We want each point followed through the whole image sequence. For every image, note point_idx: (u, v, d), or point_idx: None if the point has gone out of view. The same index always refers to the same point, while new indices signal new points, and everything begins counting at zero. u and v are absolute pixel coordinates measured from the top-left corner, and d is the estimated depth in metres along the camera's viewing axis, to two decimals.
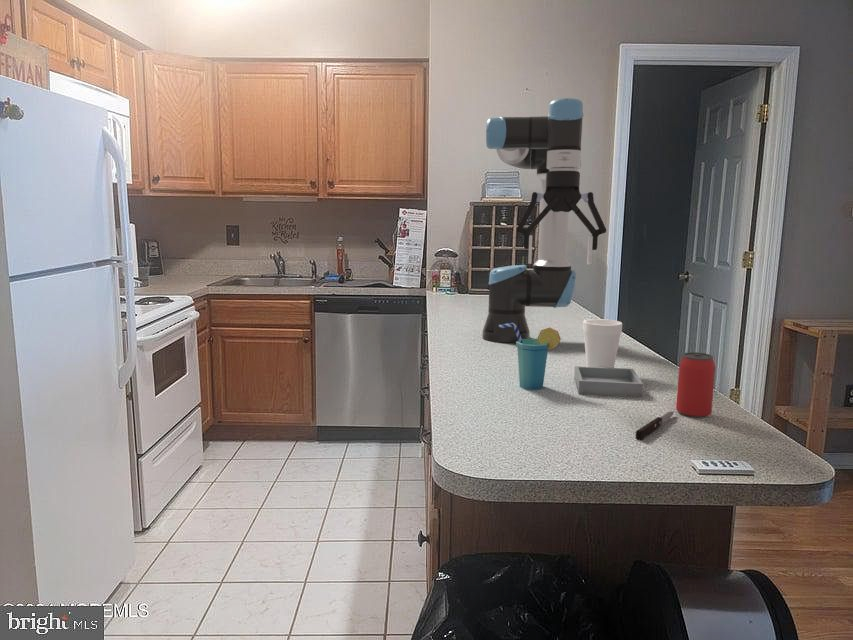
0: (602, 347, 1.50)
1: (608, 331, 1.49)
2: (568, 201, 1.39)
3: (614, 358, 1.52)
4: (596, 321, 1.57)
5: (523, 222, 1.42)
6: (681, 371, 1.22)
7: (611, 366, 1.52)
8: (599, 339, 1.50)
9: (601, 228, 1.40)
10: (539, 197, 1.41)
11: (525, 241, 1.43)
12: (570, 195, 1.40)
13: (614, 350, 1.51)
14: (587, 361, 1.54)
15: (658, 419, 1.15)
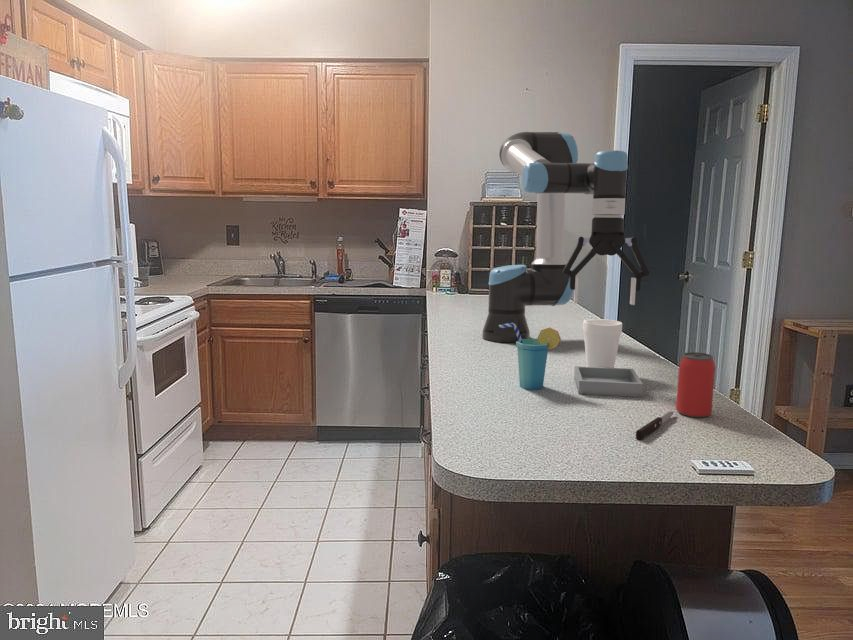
0: (602, 347, 1.50)
1: (608, 331, 1.49)
2: (613, 246, 1.48)
3: (614, 358, 1.52)
4: (596, 321, 1.57)
5: (570, 264, 1.51)
6: (681, 371, 1.22)
7: (611, 366, 1.52)
8: (599, 339, 1.50)
9: (644, 271, 1.48)
10: (585, 241, 1.50)
11: (571, 282, 1.52)
12: (615, 240, 1.48)
13: (614, 350, 1.51)
14: (587, 361, 1.54)
15: (658, 419, 1.15)
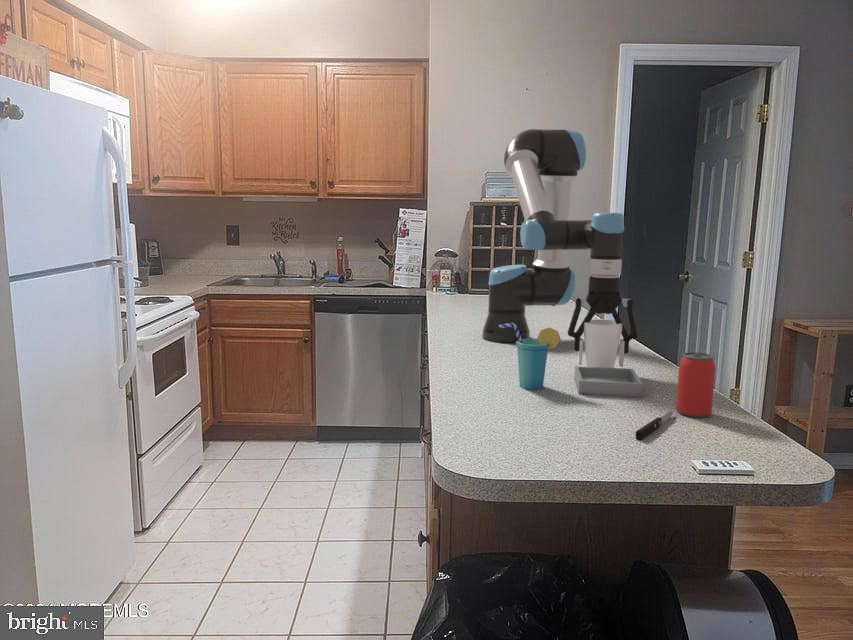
0: (602, 347, 1.50)
1: (608, 331, 1.49)
2: (609, 305, 1.50)
3: (614, 358, 1.52)
4: (596, 321, 1.57)
5: (573, 326, 1.53)
6: (681, 371, 1.22)
7: (611, 366, 1.52)
8: (599, 339, 1.50)
9: (633, 334, 1.51)
10: (583, 301, 1.53)
11: (576, 344, 1.54)
12: (611, 299, 1.51)
13: (614, 350, 1.51)
14: (587, 361, 1.54)
15: (658, 419, 1.15)
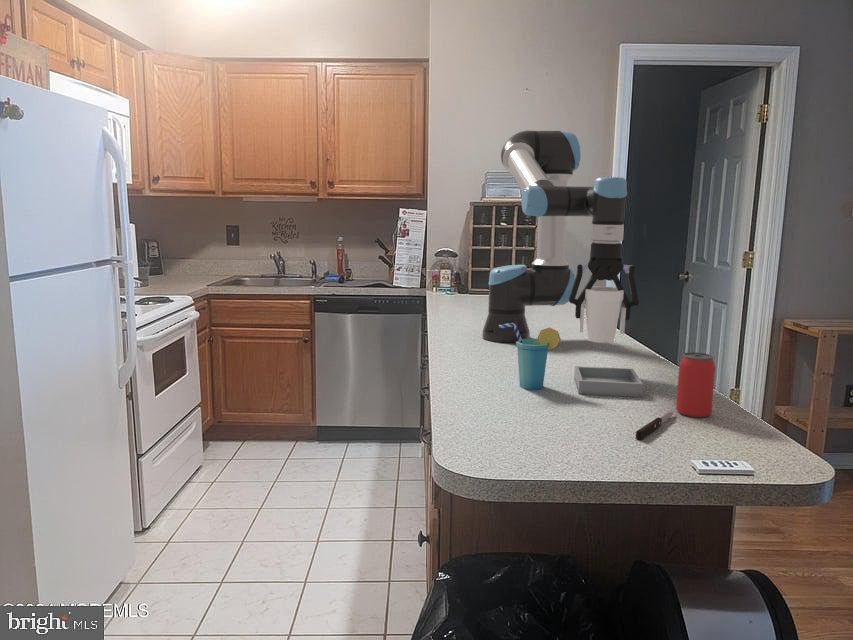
0: (603, 314, 1.49)
1: (609, 297, 1.48)
2: (611, 271, 1.49)
3: (615, 325, 1.51)
4: (597, 288, 1.56)
5: (574, 293, 1.52)
6: (681, 371, 1.22)
7: (612, 333, 1.51)
8: (600, 305, 1.49)
9: (634, 300, 1.50)
10: (584, 268, 1.51)
11: (577, 311, 1.53)
12: (613, 265, 1.50)
13: (615, 317, 1.50)
14: (588, 328, 1.53)
15: (658, 419, 1.15)
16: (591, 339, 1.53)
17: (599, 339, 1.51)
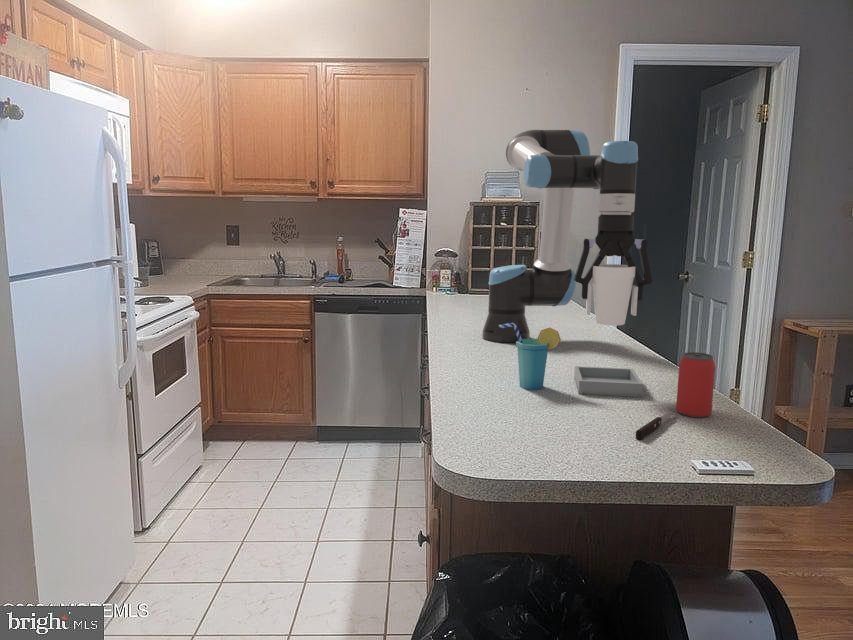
0: (613, 292, 1.35)
1: (620, 274, 1.33)
2: (621, 246, 1.35)
3: (626, 306, 1.37)
4: (606, 266, 1.42)
5: (580, 271, 1.38)
6: (681, 371, 1.22)
7: (623, 314, 1.37)
8: (610, 283, 1.34)
9: (647, 278, 1.36)
10: (591, 243, 1.37)
11: (584, 291, 1.39)
12: (624, 239, 1.35)
13: (626, 296, 1.36)
14: (596, 310, 1.39)
15: (658, 419, 1.15)
16: (599, 321, 1.38)
17: (608, 321, 1.37)
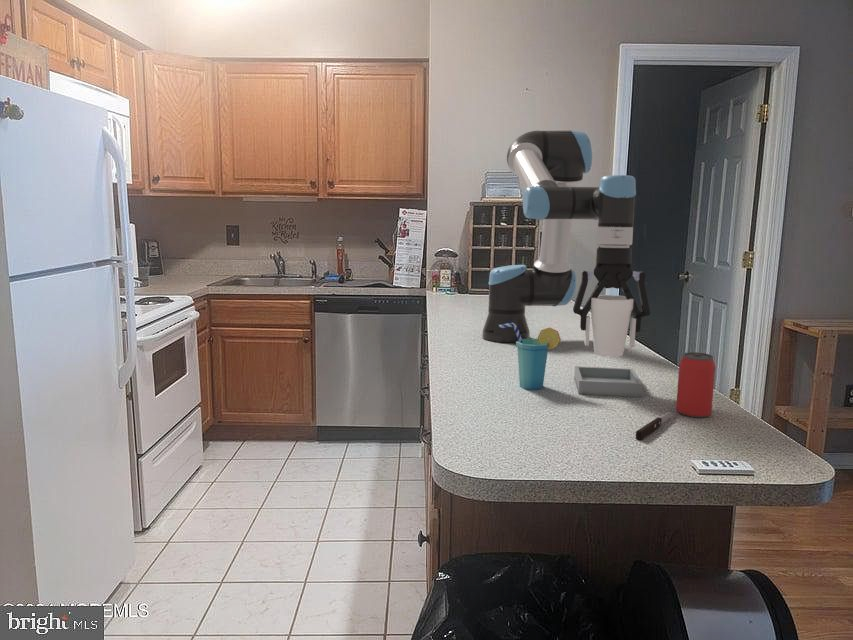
0: (611, 325, 1.36)
1: (618, 307, 1.34)
2: (619, 278, 1.36)
3: (624, 337, 1.38)
4: (604, 297, 1.43)
5: (579, 303, 1.39)
6: (681, 371, 1.22)
7: (621, 346, 1.38)
8: (608, 316, 1.35)
9: (645, 310, 1.37)
10: (590, 275, 1.38)
11: (582, 322, 1.40)
12: (622, 272, 1.36)
13: (625, 328, 1.37)
14: (595, 341, 1.40)
15: (658, 419, 1.15)
16: (598, 353, 1.39)
17: (607, 353, 1.38)
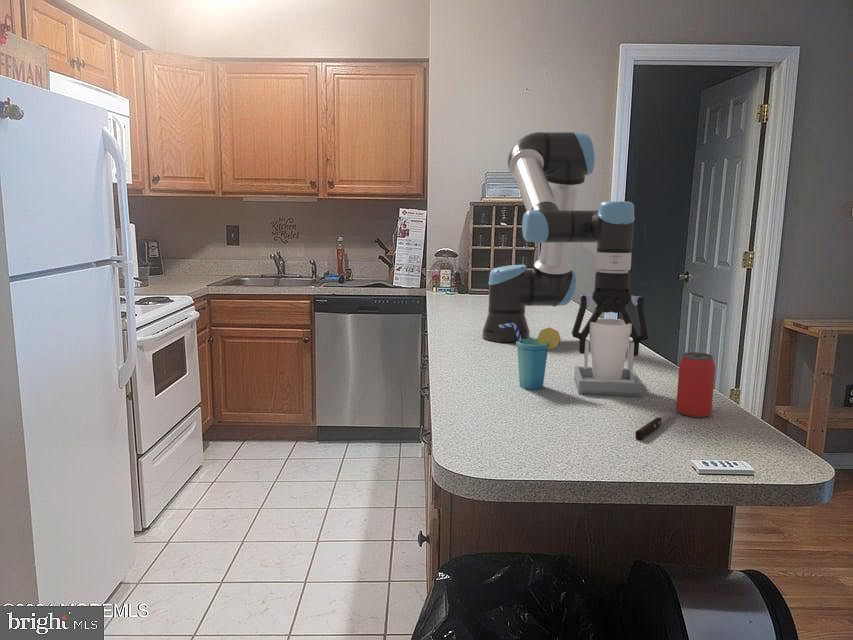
0: (610, 349, 1.37)
1: (616, 332, 1.35)
2: (618, 303, 1.37)
3: (623, 361, 1.39)
4: (603, 321, 1.44)
5: (578, 327, 1.40)
6: (681, 371, 1.22)
7: (619, 370, 1.39)
8: (606, 340, 1.36)
9: (643, 334, 1.38)
10: (588, 299, 1.39)
11: (581, 346, 1.41)
12: (620, 296, 1.37)
13: (623, 352, 1.38)
14: (593, 364, 1.41)
15: (657, 419, 1.15)
16: (596, 376, 1.40)
17: (605, 376, 1.39)
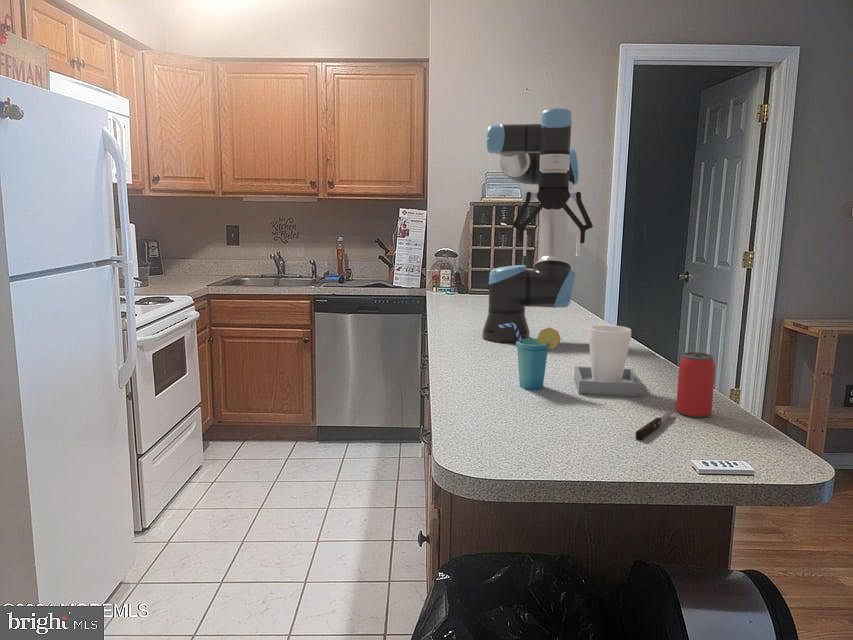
0: (609, 356, 1.37)
1: (616, 339, 1.36)
2: (558, 200, 1.56)
3: (622, 368, 1.39)
4: (602, 327, 1.44)
5: (518, 218, 1.59)
6: (681, 371, 1.22)
7: (619, 377, 1.39)
8: (606, 347, 1.37)
9: (588, 224, 1.56)
10: (533, 196, 1.58)
11: (520, 235, 1.60)
12: (560, 194, 1.56)
13: (622, 359, 1.38)
14: (593, 371, 1.41)
15: (657, 420, 1.15)
16: None
17: None
